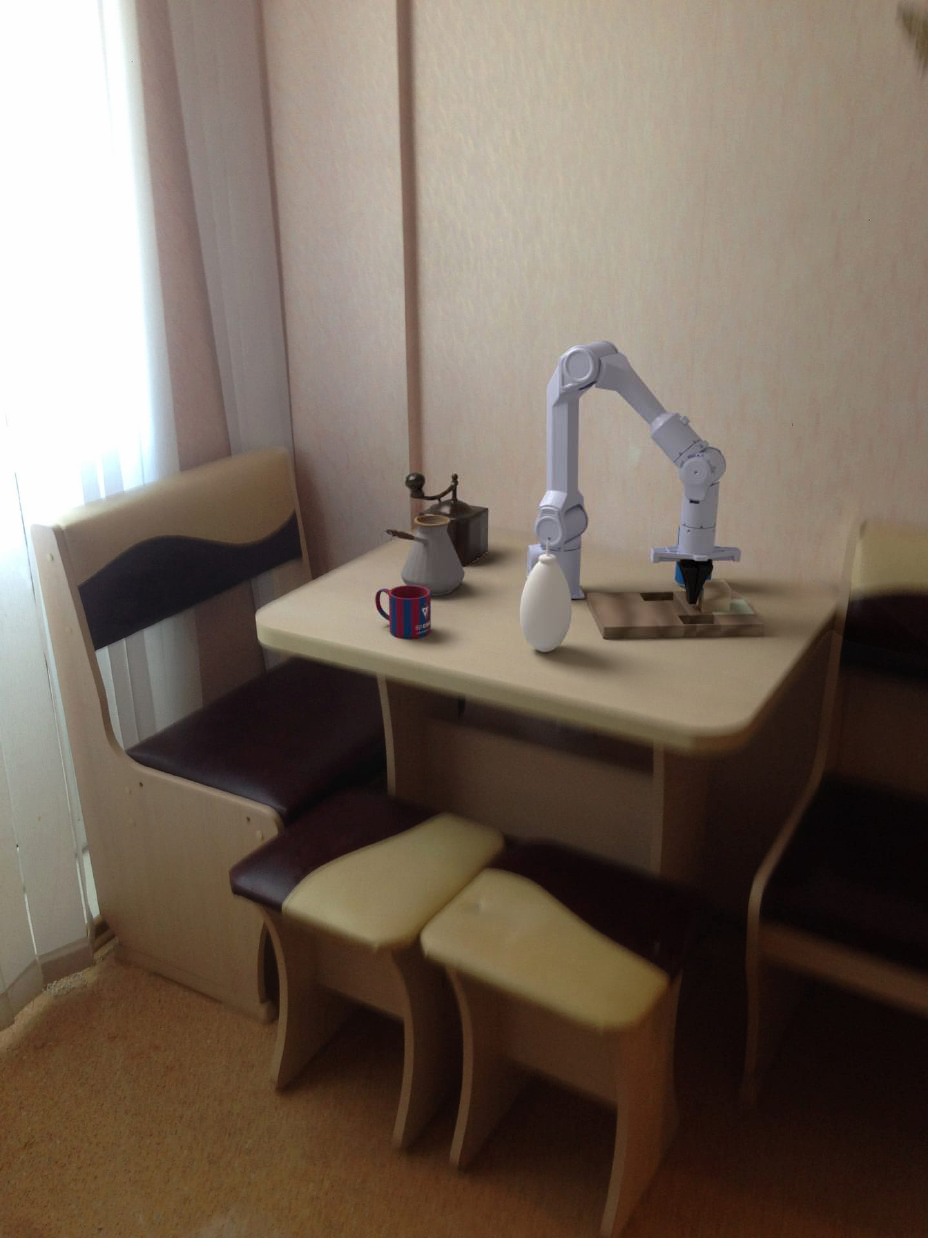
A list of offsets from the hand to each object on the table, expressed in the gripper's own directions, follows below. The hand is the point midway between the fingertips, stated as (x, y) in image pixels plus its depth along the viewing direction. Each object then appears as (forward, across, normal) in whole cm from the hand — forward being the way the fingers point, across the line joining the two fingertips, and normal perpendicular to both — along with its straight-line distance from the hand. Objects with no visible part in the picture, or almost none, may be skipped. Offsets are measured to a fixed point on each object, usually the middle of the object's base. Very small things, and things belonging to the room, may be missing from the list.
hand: (691, 602), depth 179 cm
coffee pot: (+3, -45, +13) cm, 47 cm away
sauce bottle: (+3, -26, -12) cm, 29 cm away
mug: (+3, -48, -2) cm, 48 cm away
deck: (+3, -3, 0) cm, 4 cm away
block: (+1, +4, 0) cm, 4 cm away
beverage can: (+3, +5, +17) cm, 18 cm away
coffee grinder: (+3, -39, +34) cm, 52 cm away
